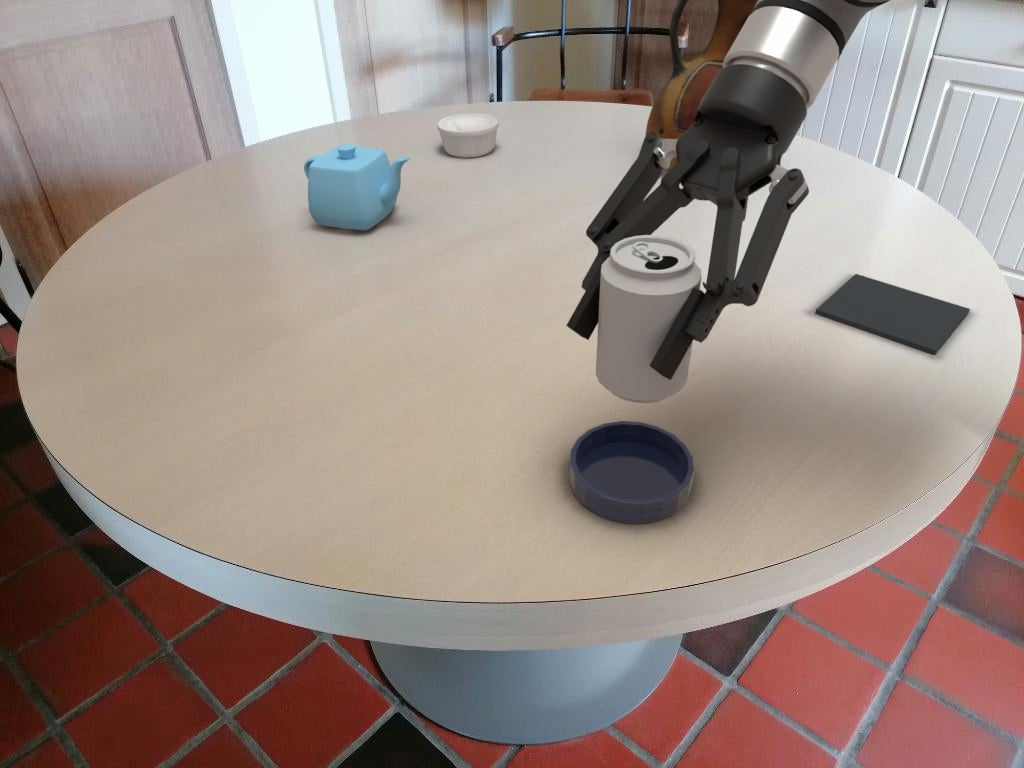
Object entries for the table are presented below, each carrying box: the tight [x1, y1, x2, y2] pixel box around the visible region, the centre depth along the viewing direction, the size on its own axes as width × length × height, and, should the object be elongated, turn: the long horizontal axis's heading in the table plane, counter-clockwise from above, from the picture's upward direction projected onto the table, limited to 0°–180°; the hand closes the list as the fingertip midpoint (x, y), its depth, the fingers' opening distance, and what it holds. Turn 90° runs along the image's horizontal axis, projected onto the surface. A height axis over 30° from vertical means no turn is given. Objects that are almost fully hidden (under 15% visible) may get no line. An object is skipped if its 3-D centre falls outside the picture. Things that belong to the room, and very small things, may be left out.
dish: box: [569, 420, 695, 525], centre depth 68 cm, size 11×11×2 cm
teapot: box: [303, 143, 412, 232], centre depth 114 cm, size 12×18×12 cm
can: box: [595, 234, 703, 404], centre depth 59 cm, size 8×8×12 cm
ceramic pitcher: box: [645, 0, 758, 170], centre depth 124 cm, size 20×20×30 cm
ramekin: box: [436, 112, 499, 159], centre depth 141 cm, size 11×11×5 cm
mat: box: [814, 273, 971, 355], centre depth 92 cm, size 14×12×1 cm
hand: (617, 351), depth 58 cm, fingers closed on can, 7 cm apart
